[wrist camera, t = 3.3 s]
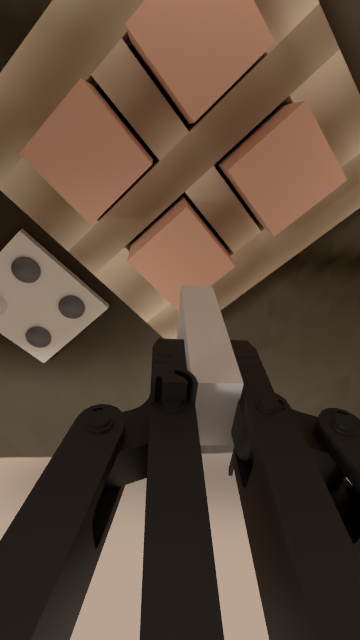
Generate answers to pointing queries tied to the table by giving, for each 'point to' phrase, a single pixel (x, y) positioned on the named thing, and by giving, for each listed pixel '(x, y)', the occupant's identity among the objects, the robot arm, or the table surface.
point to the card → (42, 299)
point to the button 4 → (283, 167)
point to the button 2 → (179, 253)
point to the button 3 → (198, 47)
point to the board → (176, 141)
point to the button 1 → (86, 152)
